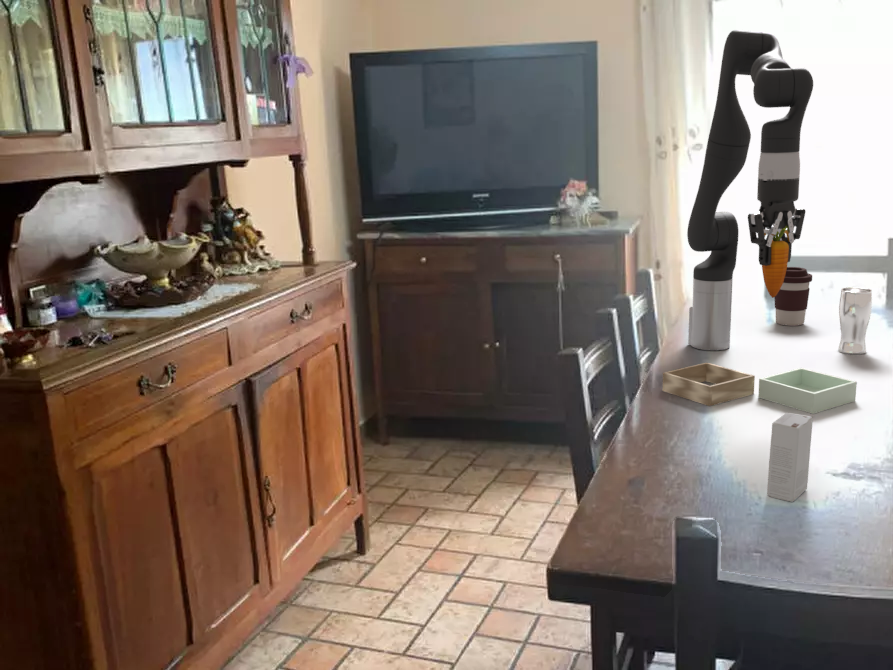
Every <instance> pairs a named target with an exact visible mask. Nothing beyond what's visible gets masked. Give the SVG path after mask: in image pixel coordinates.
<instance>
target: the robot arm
mask: <svg viewBox="0 0 893 670" xmlns="http://www.w3.org/2000/svg"><path fill="white" fill-rule="evenodd" d="M737 75H741V76H750V78H751V81H752V82H753V89H752V91H753V99H754V102H755V103H756V105H757V106H759V107H762V108H766V109H767V108H768V109H769V108H771V109H772V108H788V107H789V110H788V112H787V113H786V114H785V116H784V117H781V118H778V119H773V120H770V121H766V122H764V123H763V125H762V126H761V132H760V133H761V137H760V154H759V155H760V156H759V160H758V170H757V172H758V174H757V175H758V177H757V194H756V195H757V199H756V200H757V201H759V202H760V207H759V209H758V211H757V212H755V213H748V215H747V221H748V222H747V223H748V229H749V237H750V242H751V244H755V245H757V246H758V262H759V265H760V266H762V265H765V266H768V265H770V264H771V247H769V246H771V243H772V240H773V236H774V235H776V233H777V231H778V232H779V233H780V231H781V229H783V228H785V226H786V225H787V229H786V231H785V232H784V233H783V235H782V237H781V239H780V240H781V241H785V242H786V243H787V244H788V245H789V253H788V263H790V262H791V258H792V245H793V244H794V243H795V241H796V240H799V239H800V238H801V235H802V231H803V225H804V221H805V217H806V209H804V208H796V206H795V202H796V201H798V200H799V193H800V192H799V191H800V174H801V173H800V172H801V158H800V147H801V130H802V126H803V121H804V117H805V114H806V110H807V107H808V105H809V102H810V99H811V96H812V93H813V90H814V89H813V88H814V79H813V76H812V74H811V72H810V71H809V70H808V69H807V68H805V67H804V68H803V67H795V68H794V67H791V66H790V65H789V63H788V62H786V60H785V59H783V54H782V50H781V46H780V42H779V40H778V38H777V37H776V36H775V34H773V33H770V32H766V31H754V30H743V29H742V30H737V29H734V30H731V31H730V32H729V33H728V35H727V37H726V40H725V43H724V47H723V53H722V58H721V67H720V72H719V80H718V88H717V95H716V101H715V102H716V103H715V108H714V112H713V116H712V122H711V125H710V129H709V134H708V139H707V143H706V150H705V155H704V161H703V167H702V172H701V176H700V181H699V185H698V190H697V193H696V196H695V200H694V203H693V206H692V210H691V214H690V216H689V219H688V220H689V221H688V224H687V225H688V226H687V234H686V237H687V242H688V245H689V247H690V248H691V250H693V251H694V252H698V253H699V252H702V253H703V252H710V254H709V256H708V257H707V258H706V259H705V260H703V261H701V262H699V263H698V264H697V265H695V266H694V268H693V272H692V273H693V277H692V278H693V279H692V281H693V282H692V306H690V307H689V311H688V335H687V336H688V339H687V340H688V342H687V343H688V345H689V346H691V347H692V348H694V349H698V350H703V351H722V350H723V351H724V350H727V349H729V348H730V345H731V329H732V328H731V327H732V325H731V323H732V302H733V301H732V299H733V298H732V297H733V277H734V276H733V275H734V270H735V268H736V266H737V265H736V264H737V255H738V254H737V253H738V244H739V225H738V221H737V219H736V217H735V215H734V214H733V213H732V212H729V211H718V212H717V209H718V206H719V203H720V200H721V198H722V197H723V195H724V194H725V192H726V191H727V189H728V188H729V187H730V185H731V184H732V183H733V182H734V180H735V179H736V178H737V177H738V176H739V174H740V172H741V171H742V169H743V168H744V166H745V163H746V161H747V157H748V153H749V152H748V151H749V147H750V143H751V138H752V135H751V130H750V125H749V124H748V123H749V122H748V121H747V119H746V116H745V114H744V112H743V109H742V108H741V105H740V101H739V98H738V96H737V95H738V94H737V90H736V78H737ZM769 229H770V230H769ZM794 230H795V231H794Z"/></svg>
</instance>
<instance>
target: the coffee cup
mask: <svg viewBox="0 0 893 670" xmlns="http://www.w3.org/2000/svg"><path fill="white" fill-rule="evenodd" d="M812 281H813V274H811V273H809V272H808V270H807V268H804V267H800V266H798V267H797V266H787V270H786V274H785V278H784V281H783V284H782V286H781V288H780V290H779V292H778V293H777V295H776V296H775V297H774V309H775V323H777V324H778V325H782V326H789V327H793V326H794V327H799V326H801V325H804V323H805V319H806V314H807V309H808V304H809V303H808V301H809V296H810V283H811V282H812Z"/></svg>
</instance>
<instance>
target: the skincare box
mask: <svg viewBox="0 0 893 670" xmlns="http://www.w3.org/2000/svg"><path fill="white" fill-rule="evenodd" d="M813 420H814V419H813V417H812V416H809V415H804V414H798V413H792V412H785V413H784V414H782V415H781V416H780V417H779V418H777V419H776V420H775V421H773V422H772V424H771V435H770V436H771V437H770V449H769V459H768V460H769V462H768V475H767V488H766V489H767V490H766V496H768V497H771V498H774V499H778V500H782V501H787V502H791V503H793V502H794V501H796V499H798V498H799V497H800V496H801V495H802V494H803V493H805V491H806V490H807V489H808V484H809V483H808V481H809V472H810V471H809V470H810V469H809V468H810V459H811V458H810V457H811V445H812V443H811V442H812V434H813V432H812V431H813V422H814V421H813Z"/></svg>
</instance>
